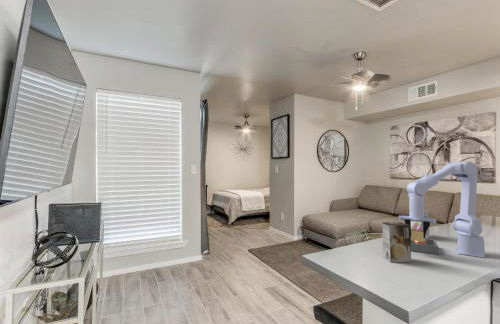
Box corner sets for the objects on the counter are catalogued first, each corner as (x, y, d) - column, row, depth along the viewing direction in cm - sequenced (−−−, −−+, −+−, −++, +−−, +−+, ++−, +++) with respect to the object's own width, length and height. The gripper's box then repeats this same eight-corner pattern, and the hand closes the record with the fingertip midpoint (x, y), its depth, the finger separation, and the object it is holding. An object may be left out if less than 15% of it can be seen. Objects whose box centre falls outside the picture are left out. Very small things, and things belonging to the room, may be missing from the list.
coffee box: (402, 257, 113) (402, 221, 113) (411, 262, 106) (411, 225, 107) (382, 257, 113) (381, 221, 113) (390, 262, 107) (389, 225, 107)
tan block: (422, 239, 117) (422, 230, 117) (423, 242, 113) (423, 232, 113) (411, 238, 119) (410, 229, 120) (411, 240, 116) (411, 231, 116)
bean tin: (426, 247, 126) (425, 238, 126) (427, 250, 121) (427, 240, 121) (413, 245, 129) (413, 236, 129) (413, 248, 124) (413, 239, 124)
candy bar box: (408, 234, 152) (408, 207, 153) (417, 234, 152) (416, 207, 153) (421, 239, 141) (420, 210, 142) (430, 239, 141) (429, 211, 142)
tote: (435, 247, 127) (435, 239, 127) (438, 255, 116) (438, 246, 116) (404, 243, 134) (403, 235, 134) (404, 250, 123) (404, 242, 123)
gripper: (398, 207, 117) (399, 236, 117) (436, 210, 110) (437, 241, 109) (398, 205, 123) (399, 233, 123) (434, 208, 116) (435, 237, 115)
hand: (417, 237), depth 116 cm, fingers closed on tan block, 5 cm apart
